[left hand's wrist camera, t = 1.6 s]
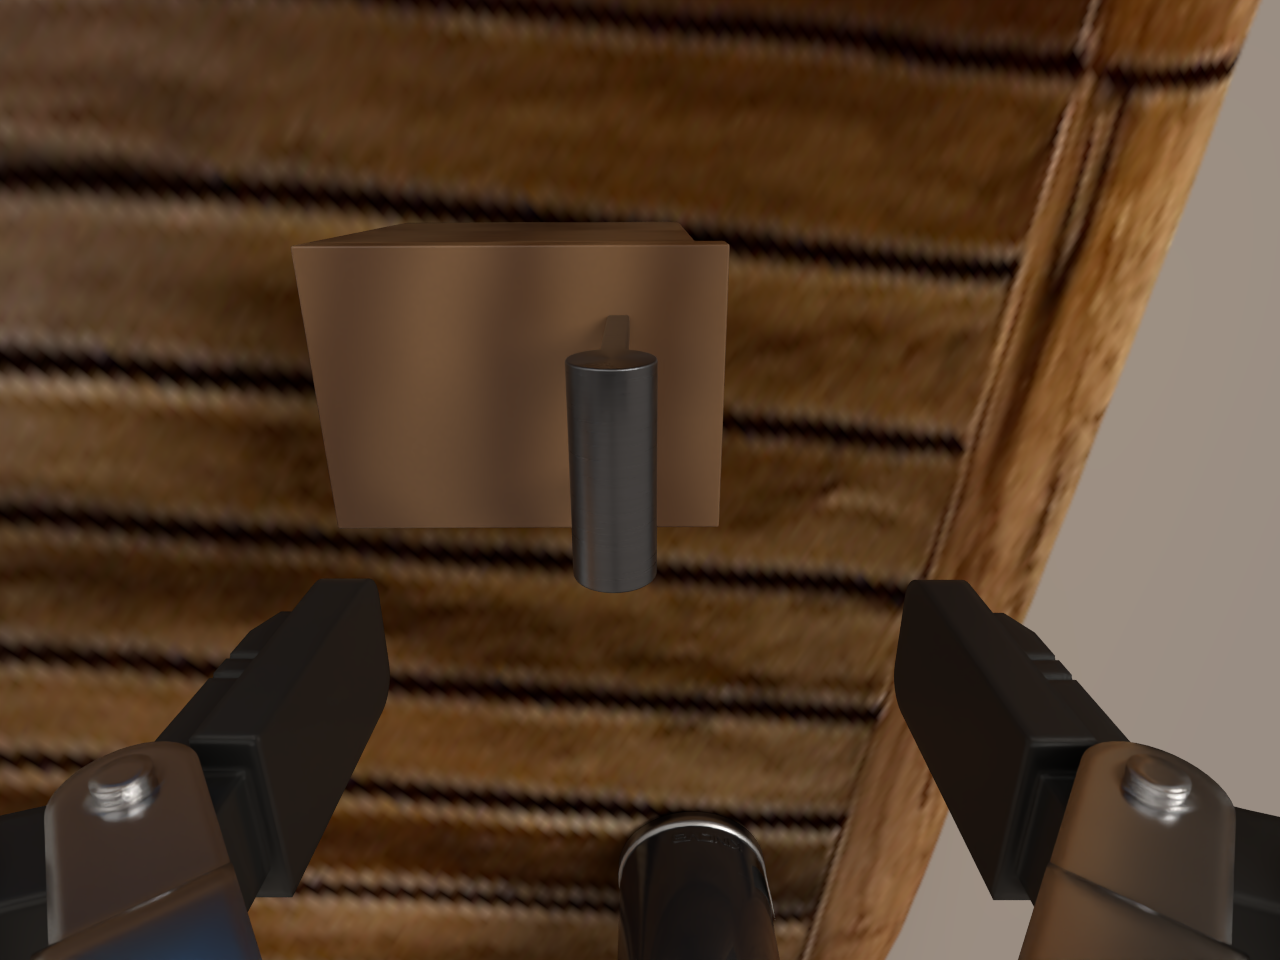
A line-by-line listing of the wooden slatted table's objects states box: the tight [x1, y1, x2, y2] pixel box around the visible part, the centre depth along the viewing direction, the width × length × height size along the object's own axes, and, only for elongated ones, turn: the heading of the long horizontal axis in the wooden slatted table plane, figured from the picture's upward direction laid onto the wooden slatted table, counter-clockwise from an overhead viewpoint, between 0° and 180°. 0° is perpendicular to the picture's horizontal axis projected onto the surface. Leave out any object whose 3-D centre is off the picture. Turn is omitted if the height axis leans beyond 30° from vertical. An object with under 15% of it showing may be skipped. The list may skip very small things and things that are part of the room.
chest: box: [310, 222, 694, 243], centre depth 31 cm, size 12×10×11 cm
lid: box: [291, 241, 730, 593], centre depth 22 cm, size 13×10×9 cm
